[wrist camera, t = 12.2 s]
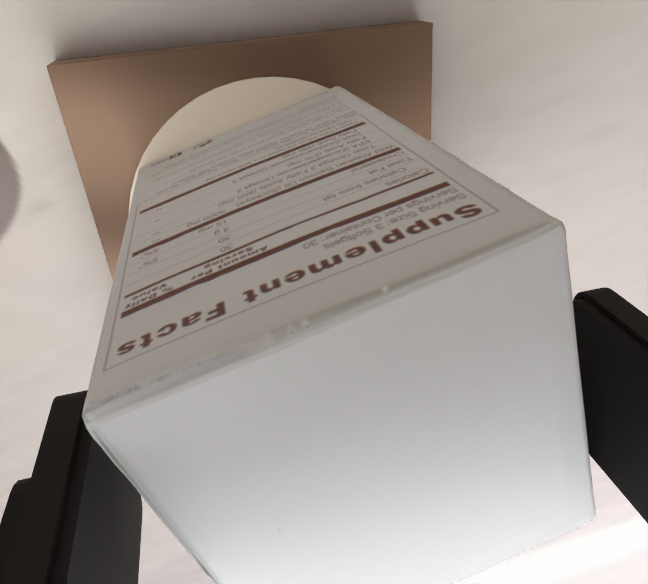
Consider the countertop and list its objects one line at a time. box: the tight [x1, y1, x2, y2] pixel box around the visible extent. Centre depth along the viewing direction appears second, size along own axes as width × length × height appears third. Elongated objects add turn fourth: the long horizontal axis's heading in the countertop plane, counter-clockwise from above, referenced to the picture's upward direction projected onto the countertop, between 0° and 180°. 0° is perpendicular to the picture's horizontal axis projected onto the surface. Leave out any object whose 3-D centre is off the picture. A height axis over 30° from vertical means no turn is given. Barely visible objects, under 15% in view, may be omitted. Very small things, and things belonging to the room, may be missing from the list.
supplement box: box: [82, 86, 596, 584], centre depth 15 cm, size 7×7×13 cm
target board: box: [47, 21, 433, 280], centre depth 21 cm, size 12×12×1 cm
